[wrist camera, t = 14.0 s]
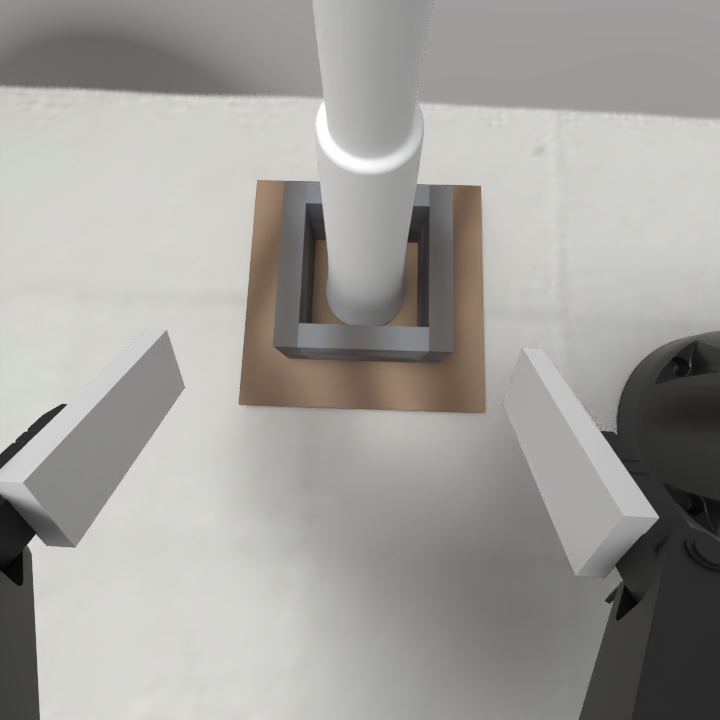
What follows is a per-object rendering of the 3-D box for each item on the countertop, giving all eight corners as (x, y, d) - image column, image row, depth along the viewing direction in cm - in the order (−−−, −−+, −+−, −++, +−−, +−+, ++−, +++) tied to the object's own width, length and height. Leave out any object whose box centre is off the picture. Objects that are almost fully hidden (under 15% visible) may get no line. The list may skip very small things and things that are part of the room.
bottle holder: (475, 197, 30) (505, 138, 24) (478, 412, 28) (513, 412, 21) (262, 191, 31) (235, 132, 24) (245, 405, 28) (210, 402, 21)
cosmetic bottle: (394, 337, 27) (527, 21, 5) (317, 318, 27) (141, -56, 6) (412, 263, 28) (589, -268, 6) (337, 246, 28) (252, -323, 6)
